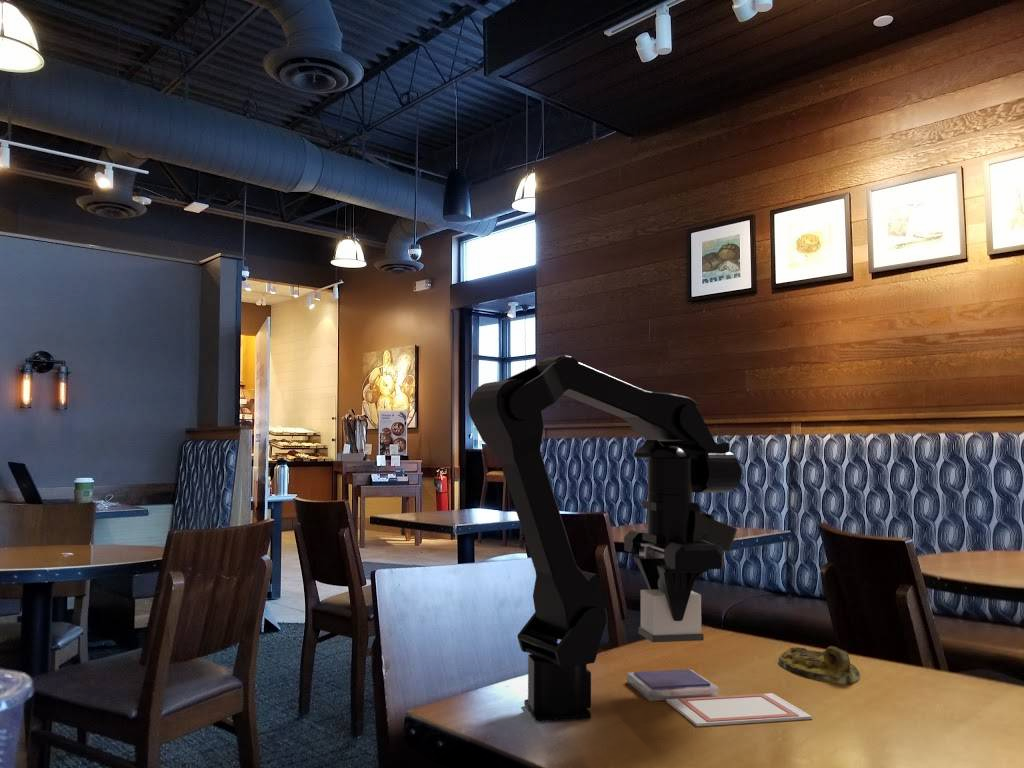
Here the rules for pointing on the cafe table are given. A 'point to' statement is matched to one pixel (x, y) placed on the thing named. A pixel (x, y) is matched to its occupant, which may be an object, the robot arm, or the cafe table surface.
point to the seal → (821, 664)
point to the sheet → (737, 709)
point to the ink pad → (671, 684)
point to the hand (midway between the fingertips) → (670, 616)
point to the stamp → (669, 618)
